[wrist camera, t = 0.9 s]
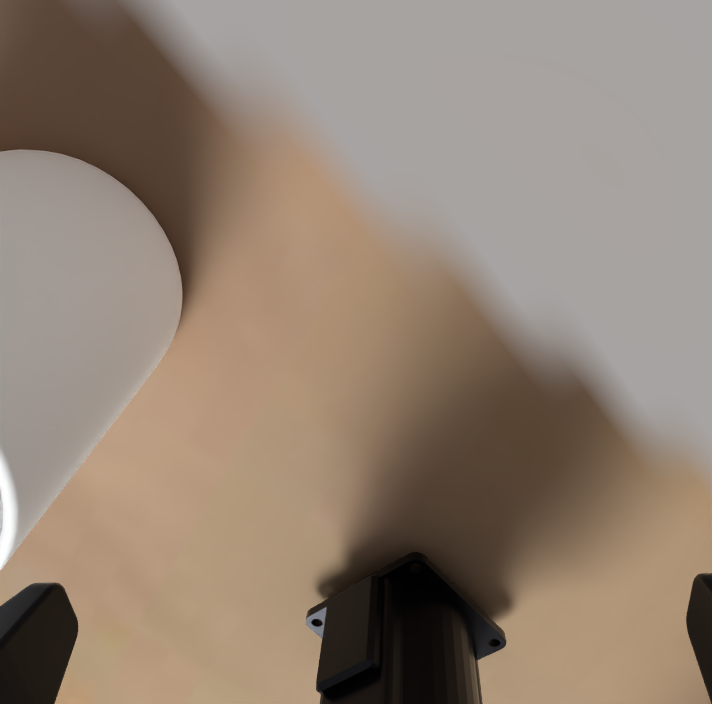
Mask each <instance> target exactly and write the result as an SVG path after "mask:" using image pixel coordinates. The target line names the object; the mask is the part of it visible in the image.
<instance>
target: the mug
mask: <svg viewBox="0 0 712 704" xmlns="http://www.w3.org/2000/svg"><path fill="white" fill-rule="evenodd" d="M182 293H183V292H182V282H181V275H180V271H179V267H178V262H177V260H176V257H175V254H174V252H173V249H172V246H171V244H170V242H169V240H168V238H167V236H166V235H165V233H164V231H163V229H162V228H161V226H160V225H159V223H158V222H157V220H156V219H155V217H154V216H153V214H152V213H151V212H150V211H149V210H148V209H147V207H146V206H145V205H144V204H143V203H142V201H141V200H139V199H138V198H137V197H136V196H135V195H134V194H133V193H132V192H131V191H130V190H129V189H128V188H127V187H125V186H124V185H123V184H121V183H120V182H119V181H117V180H116V179H115V178H114V177H112V176H110V175H109V174H107V173H105V172H104V171H102V170H100V169H99V168H97V167H95V166H93V165H91V164H88V163H86V162H84V161H82V160H80V159H76V158H73V157H70V156H67V155H64V154H59V153H54V152H49V151H40V150H21V149H19V150H10V151H1V152H0V570H1V569H2V568H3V566H4V565H5V564H6V563H7V561H8V560H9V559H10V557H11V556H12V555H13V553H14V552H15V551H16V550H17V548H18V547H19V546H20V544H21V543H22V542H23V540H24V539H25V538H26V536H27V535H28V534H29V533H30V531H31V530H32V529H33V527H34V526H35V525H36V523H37V522H38V521H39V519H40V518H41V517H42V516H43V514H44V513H45V512H46V510H47V509H48V508H49V506H50V505H51V504H52V502H53V501H54V500H55V499H56V497H57V496H58V495H59V493H60V492H61V491H62V489H63V488H64V487H65V485H66V484H67V483H68V482H69V480H70V479H71V478H72V476H73V475H74V474H75V472H76V471H77V470H78V469H79V467H80V466H81V465H82V463H83V462H84V461H85V459H86V458H87V457H88V455H89V454H90V453H91V452H92V450H93V449H94V448H95V446H96V445H97V444H98V442H99V441H100V440H101V438H102V437H103V436H104V435H105V433H106V432H107V431H108V429H109V428H110V427H111V425H112V424H113V423H114V421H115V420H116V419H117V418H118V416H119V415H120V414H121V412H122V411H123V410H124V408H125V407H126V406H127V405H128V403H129V402H130V401H131V399H132V398H133V397H134V395H135V394H136V393H137V391H138V390H139V389H140V388H141V386H142V385H143V384H144V382H145V381H146V380H147V378H148V377H149V376H150V374H151V373H152V372H153V371H154V369H155V368H156V367H157V365H158V364H159V363H160V361H161V360H162V358H163V357H164V355H165V353H166V352H167V350H168V348H169V346H170V344H171V343H172V341H173V338H174V336H175V333H176V330H177V327H178V324H179V321H180V315H181V310H182Z"/></svg>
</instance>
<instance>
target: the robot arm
mask: <svg viewBox="0 0 712 704" xmlns="http://www.w3.org/2000/svg"><path fill="white" fill-rule="evenodd" d="M413 564H419V565H418V566H415V565H413ZM686 624H687V630H688V634H689V638H690V641H691V644H692V647H693V650H694V653H695V656H696V659H697V662H698V665H699V668H700V671H701V674H702V677H703V680H704V683H705V686H706V689H707V692H708V695H709V698H710V701H711V704H712V573H704V574H698V575H697V576H696V577H695V578H694V581H693V585H692V590H691V595H690V600H689V605H688V610H687V616H686ZM306 625H307V626H308V627H309V628H310V629H311V630H312V631H314V632H315V633H316V634H317V635H319V636H320V637H321V638H322V645H321V652H320V659H319V667H318V674H317V681H316V690H317V691H318V692H319V693H320V694H321V698H320V704H482V695H481V686H480V678H479V669H478V661H477V660H479V659H481V658H483V657H485V656H487V655H490V654H492V653H494V652H496V651H498V650H501V649H502V648H504V647H505V645H506V638H505V633H504V631H503V630H502V629H501V628H500V627H499V626H498V625H497V624H496V623H495V622H494V621H493V620H492V619H490V618H489V617H488V616H487V615H486V614H485V613H484V612H483V611H482V610H481V609H480V608H479V607H478V606H477V605H476V604H475V603H474V602H473V601H472V600H471V599H470V598H469V597H468V596H467V595H466V594H465V593H464V592H462V591H461V590H460V589H459V588H458V587H457V586H456V585H455V584H454V583H453V582H452V581H451V580H450V579H449V578H448V577H447V576H446V575H445V574H444V573H443V572H442V571H441V570H440V569H439V568H438V567H437V566H435V565H434V564H433V563H432V562H431V561H430V560H429V559H428V558H427V557H426V556H425V555H423V554H422V553H418V552H412V553H410V554H407V555H406V556H404V557H402V558H400V559H398V560H397V561H395V562H393V563H391V564H390V565H388V566H386V567H384V568H382V569H381V570H379V571H377V572H375V573H373V574H372V575H370V576H368V577H366V578H365V579H363V580H361V581H359V582H357V583H356V584H354V585H352V586H350V587H348V588H347V589H345V590H343V591H341V592H340V593H338V594H336V595H334V596H332V597H331V598H329V599H327V600H325V601H324V602H322V603H320V604H318V605H316V606H315V607H313V608H311V609H310V610H309V611H308V612H307V617H306ZM77 634H78V620H77V617H76V615H75V613H74V610H73V608H72V605H71V603H70V601H69V598H68V596H67V594H66V591H65V589H64V587H63V586H62V585H60V584H59V583H34V584H31V585H29V586H28V587H26V588H25V589H23V590H22V591H20V592H19V593H18V594H16V595H15V596H14V597H12V598H11V599H10V600H8V601H7V602H5V603H4V604H3V605H1V606H0V704H54V703H55V700H56V697H57V695H58V692H59V689H60V686H61V683H62V680H63V677H64V674H65V671H66V668H67V665H68V662H69V659H70V656H71V653H72V650H73V647H74V644H75V641H76V638H77Z"/></svg>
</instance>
